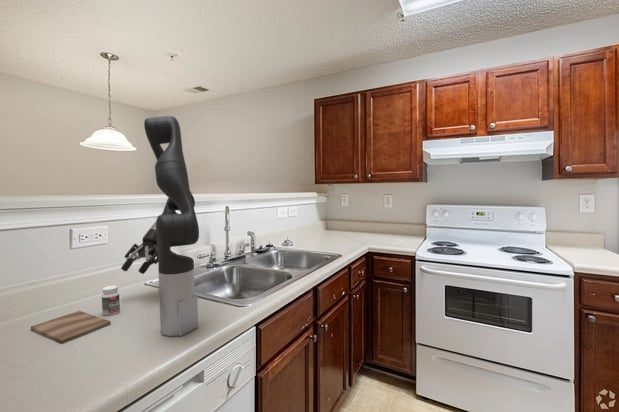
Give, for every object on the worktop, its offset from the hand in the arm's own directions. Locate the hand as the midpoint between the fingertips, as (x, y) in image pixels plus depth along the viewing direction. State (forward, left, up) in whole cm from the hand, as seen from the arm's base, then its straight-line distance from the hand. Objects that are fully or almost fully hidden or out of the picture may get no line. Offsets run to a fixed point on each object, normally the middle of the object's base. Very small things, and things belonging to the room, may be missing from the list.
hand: (132, 271), depth 100 cm
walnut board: (-1, +19, -12) cm, 22 cm away
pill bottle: (-1, +8, -12) cm, 14 cm away
